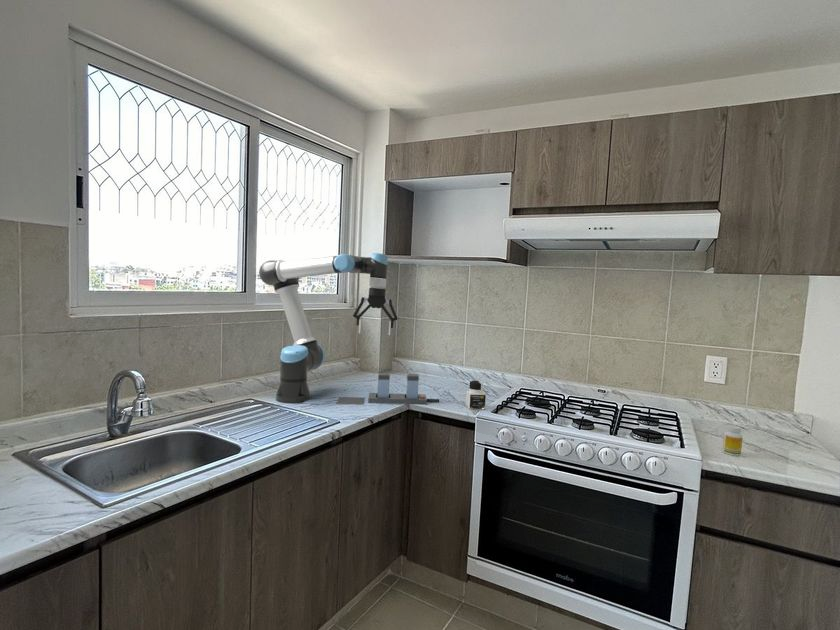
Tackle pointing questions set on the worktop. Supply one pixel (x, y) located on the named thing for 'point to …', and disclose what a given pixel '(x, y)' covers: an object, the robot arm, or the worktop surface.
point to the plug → (383, 385)
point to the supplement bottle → (732, 441)
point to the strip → (399, 399)
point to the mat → (350, 400)
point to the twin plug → (412, 386)
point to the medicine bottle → (475, 395)
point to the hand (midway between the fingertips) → (374, 334)
